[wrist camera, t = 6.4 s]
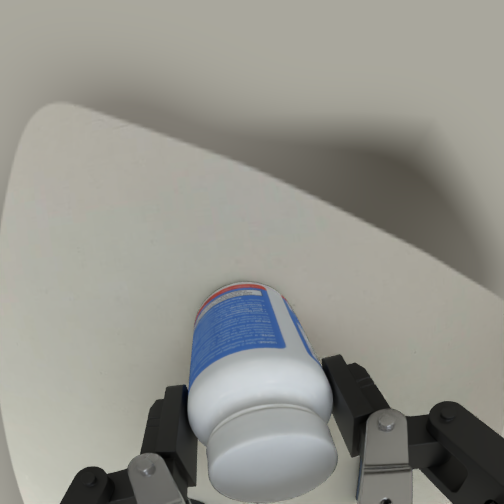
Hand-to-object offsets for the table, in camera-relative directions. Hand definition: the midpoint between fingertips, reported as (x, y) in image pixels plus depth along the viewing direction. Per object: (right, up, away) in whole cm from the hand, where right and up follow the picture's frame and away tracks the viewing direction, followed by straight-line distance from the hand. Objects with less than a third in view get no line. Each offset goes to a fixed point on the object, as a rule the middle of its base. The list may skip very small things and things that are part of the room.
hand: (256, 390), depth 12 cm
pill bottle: (-1, +2, +5) cm, 6 cm away
